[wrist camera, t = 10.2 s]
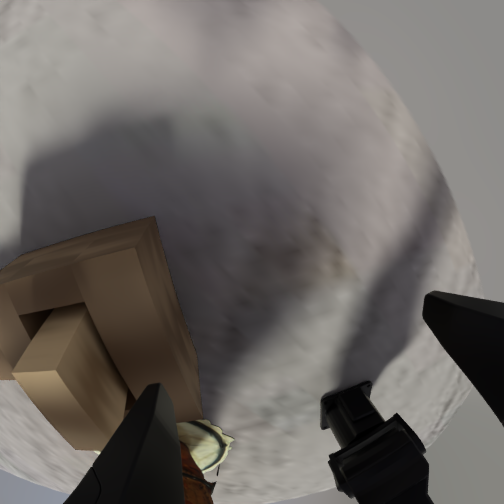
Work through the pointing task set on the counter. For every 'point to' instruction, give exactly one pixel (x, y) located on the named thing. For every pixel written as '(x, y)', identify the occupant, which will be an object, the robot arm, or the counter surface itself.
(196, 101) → the counter surface
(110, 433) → the tan cardboard block
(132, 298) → the wooden block stand
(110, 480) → the robot arm
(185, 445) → the decorative vase
